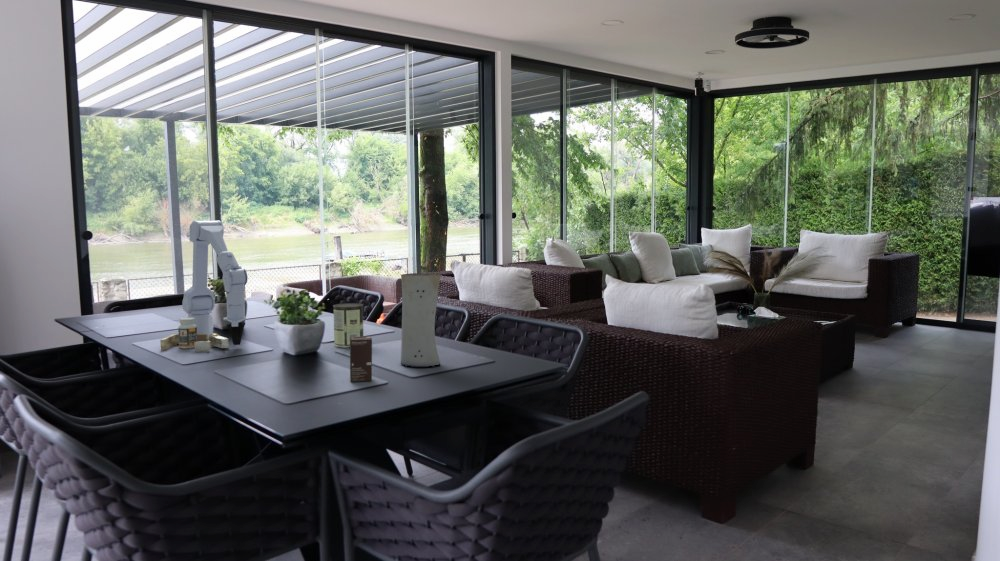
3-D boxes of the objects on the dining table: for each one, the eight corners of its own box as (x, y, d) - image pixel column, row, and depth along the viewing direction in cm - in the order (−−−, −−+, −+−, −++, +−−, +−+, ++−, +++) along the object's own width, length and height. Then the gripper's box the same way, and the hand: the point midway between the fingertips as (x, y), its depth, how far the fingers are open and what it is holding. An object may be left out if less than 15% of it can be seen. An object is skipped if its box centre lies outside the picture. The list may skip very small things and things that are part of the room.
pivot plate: (209, 344, 253) (209, 343, 253) (223, 344, 254) (223, 343, 254) (205, 346, 249) (205, 346, 249) (218, 346, 249) (218, 346, 249)
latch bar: (208, 344, 251) (208, 334, 251) (216, 343, 253) (216, 333, 253) (221, 348, 244) (221, 338, 243) (229, 347, 246) (229, 337, 245)
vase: (450, 365, 225) (452, 274, 223) (417, 370, 215) (418, 276, 213) (423, 359, 233) (424, 272, 231) (389, 364, 223) (390, 273, 221)
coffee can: (348, 341, 261) (348, 302, 259) (370, 344, 255) (369, 304, 254) (327, 345, 252) (326, 305, 251) (349, 349, 247) (348, 307, 245)
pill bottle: (192, 349, 244) (191, 319, 243) (175, 348, 244) (174, 319, 243) (200, 345, 250) (199, 317, 249) (183, 345, 250) (182, 317, 249)
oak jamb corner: (173, 343, 253) (173, 334, 253) (207, 343, 254) (207, 333, 253) (160, 350, 242) (160, 339, 241) (196, 350, 242) (196, 339, 242)
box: (350, 382, 200) (349, 339, 199) (350, 378, 204) (349, 336, 203) (372, 381, 201) (372, 338, 200) (371, 378, 206) (371, 336, 204)
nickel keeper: (199, 349, 244) (198, 339, 244) (213, 349, 244) (213, 339, 244) (194, 351, 240) (194, 342, 240) (209, 351, 241) (209, 341, 240)
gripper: (224, 302, 250) (226, 341, 251) (221, 307, 236) (222, 349, 238) (246, 301, 252) (247, 340, 253) (244, 307, 238) (245, 348, 240)
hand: (236, 344), depth 246 cm, fingers closed
